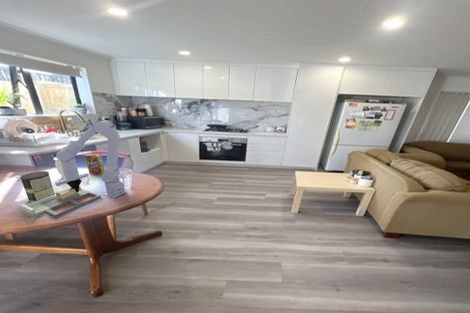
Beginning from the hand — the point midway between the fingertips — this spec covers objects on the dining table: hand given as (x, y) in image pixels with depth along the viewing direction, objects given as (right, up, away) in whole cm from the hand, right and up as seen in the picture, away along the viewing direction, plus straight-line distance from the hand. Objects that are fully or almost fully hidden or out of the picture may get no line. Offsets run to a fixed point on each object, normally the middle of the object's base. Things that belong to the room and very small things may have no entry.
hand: (76, 191), depth 98 cm
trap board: (+2, -6, -8) cm, 10 cm away
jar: (-29, +6, +25) cm, 38 cm away
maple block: (-2, -2, -4) cm, 5 cm away
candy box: (-14, +7, +32) cm, 36 cm away
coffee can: (-18, -3, -1) cm, 18 cm away
